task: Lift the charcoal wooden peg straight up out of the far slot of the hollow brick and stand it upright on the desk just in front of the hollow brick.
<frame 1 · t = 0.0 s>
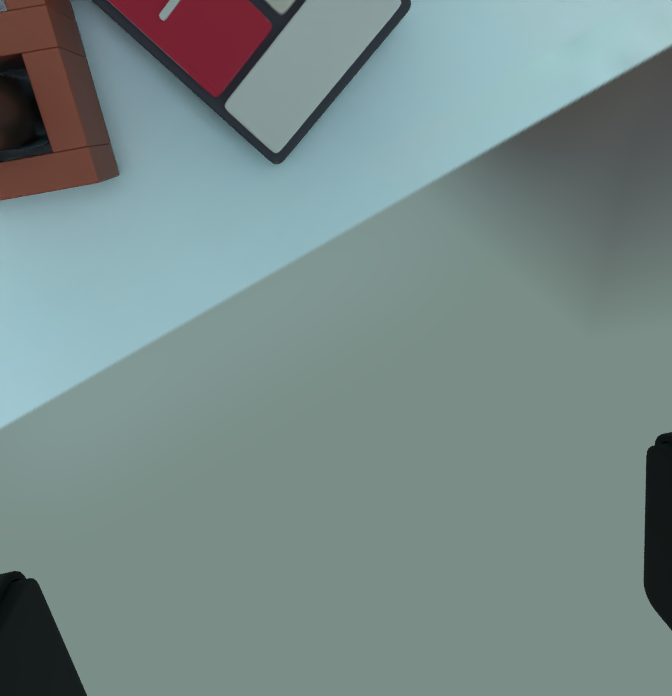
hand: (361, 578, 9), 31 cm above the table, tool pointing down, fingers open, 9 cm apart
hollow brick: (6, 52, 33), on the table
peg: (26, 114, 34), resting in hollow brick
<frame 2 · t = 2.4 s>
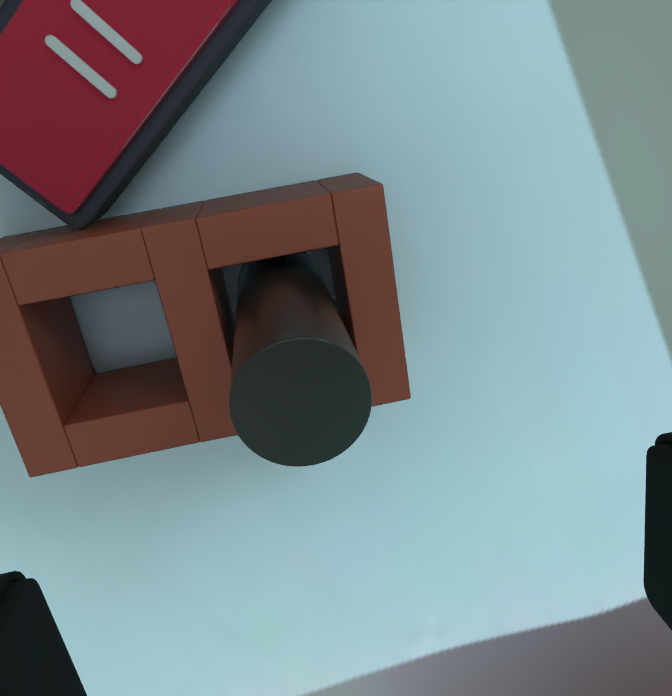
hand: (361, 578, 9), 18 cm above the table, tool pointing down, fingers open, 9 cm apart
hollow brick: (207, 299, 26), on the table
peg: (280, 285, 26), resting in hollow brick
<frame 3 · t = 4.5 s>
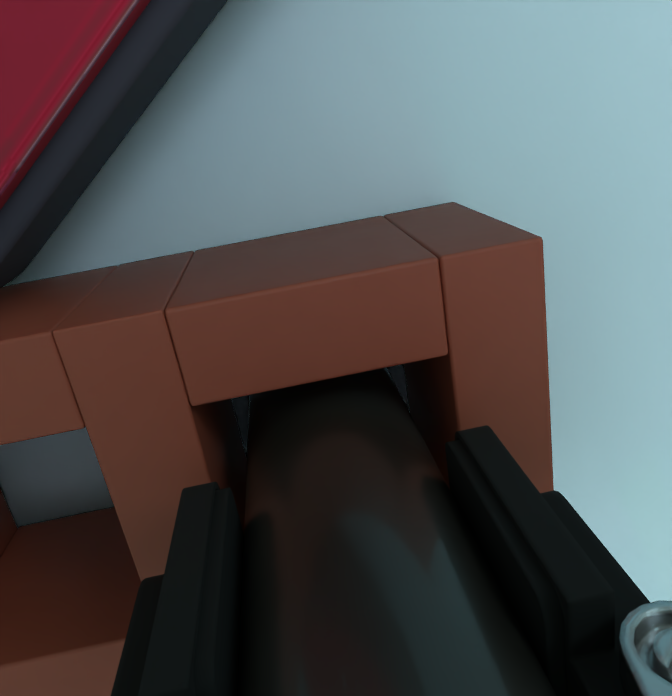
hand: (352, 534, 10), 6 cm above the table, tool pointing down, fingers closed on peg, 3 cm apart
hollow brick: (198, 409, 16), on the table
peg: (318, 385, 16), resting in hollow brick, touching gripper
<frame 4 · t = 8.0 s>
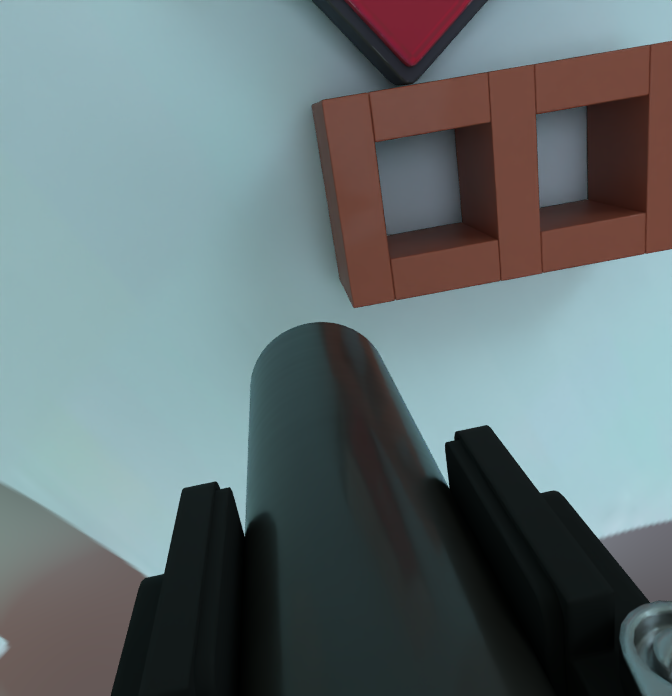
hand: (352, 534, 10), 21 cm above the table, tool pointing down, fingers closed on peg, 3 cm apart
hollow brick: (476, 170, 29), on the table
peg: (319, 386, 16), point 15 cm above the table, touching gripper
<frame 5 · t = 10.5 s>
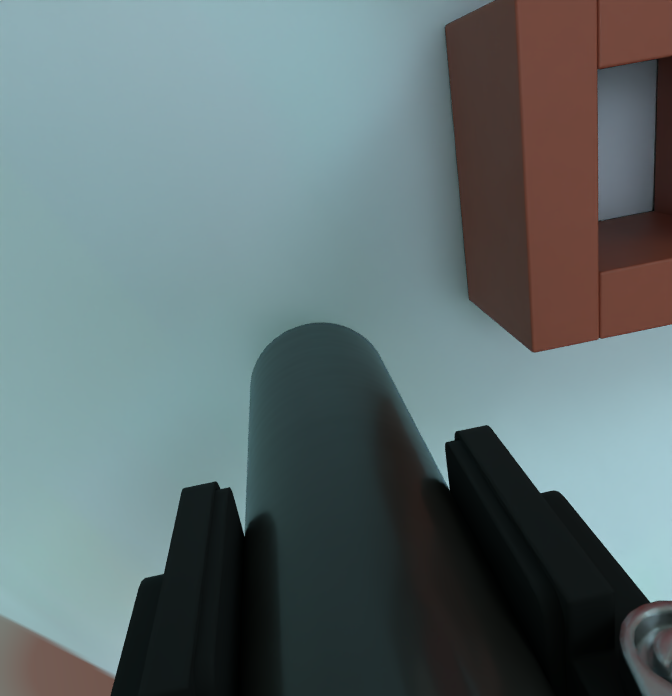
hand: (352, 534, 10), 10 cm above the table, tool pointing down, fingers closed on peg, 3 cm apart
peg: (319, 386, 16), point 4 cm above the table, touching gripper
when the fingers open (6 cm above the table, at t = 11.9 s): peg stays where it is, on the table.
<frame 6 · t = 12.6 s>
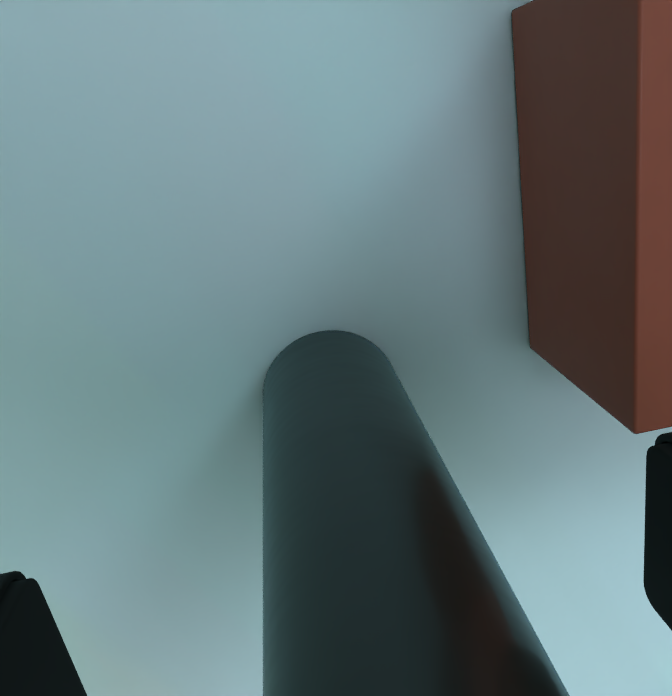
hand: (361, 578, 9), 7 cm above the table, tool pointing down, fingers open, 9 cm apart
peg: (330, 393, 16), on the table
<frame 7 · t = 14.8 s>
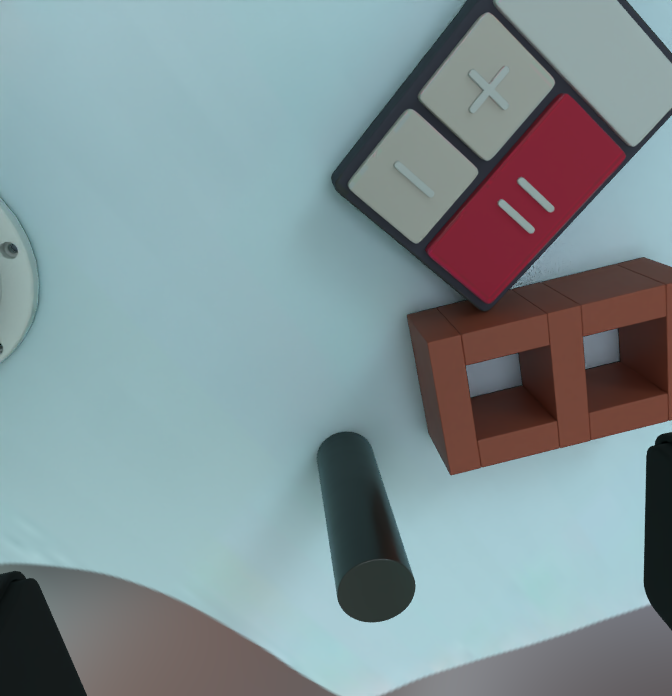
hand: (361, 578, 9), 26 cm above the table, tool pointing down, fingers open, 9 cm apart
hollow brick: (532, 348, 38), on the table
calculator: (490, 133, 33), on the table
peg: (344, 456, 39), on the table
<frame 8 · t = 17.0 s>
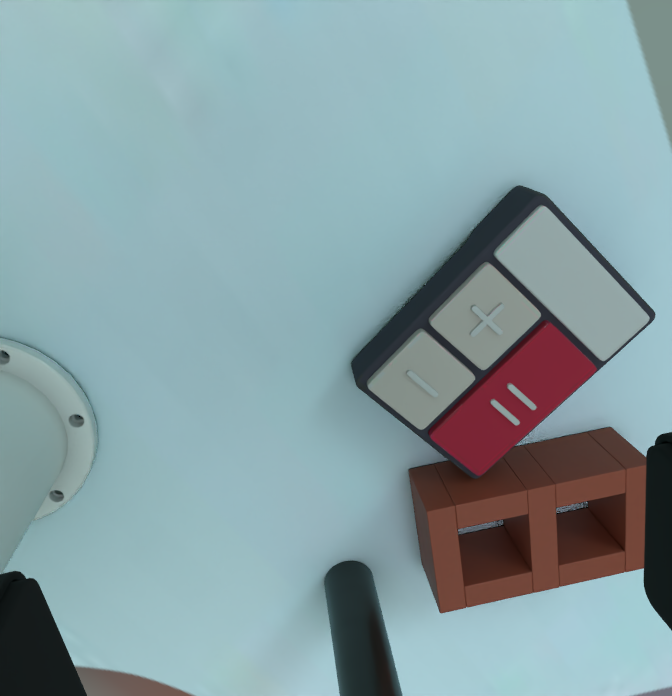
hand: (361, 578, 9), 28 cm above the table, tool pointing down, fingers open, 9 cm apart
hollow brick: (513, 496, 44), on the table
calculator: (486, 330, 39), on the table
peg: (348, 580, 45), on the table
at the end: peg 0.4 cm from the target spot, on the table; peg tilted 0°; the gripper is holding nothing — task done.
